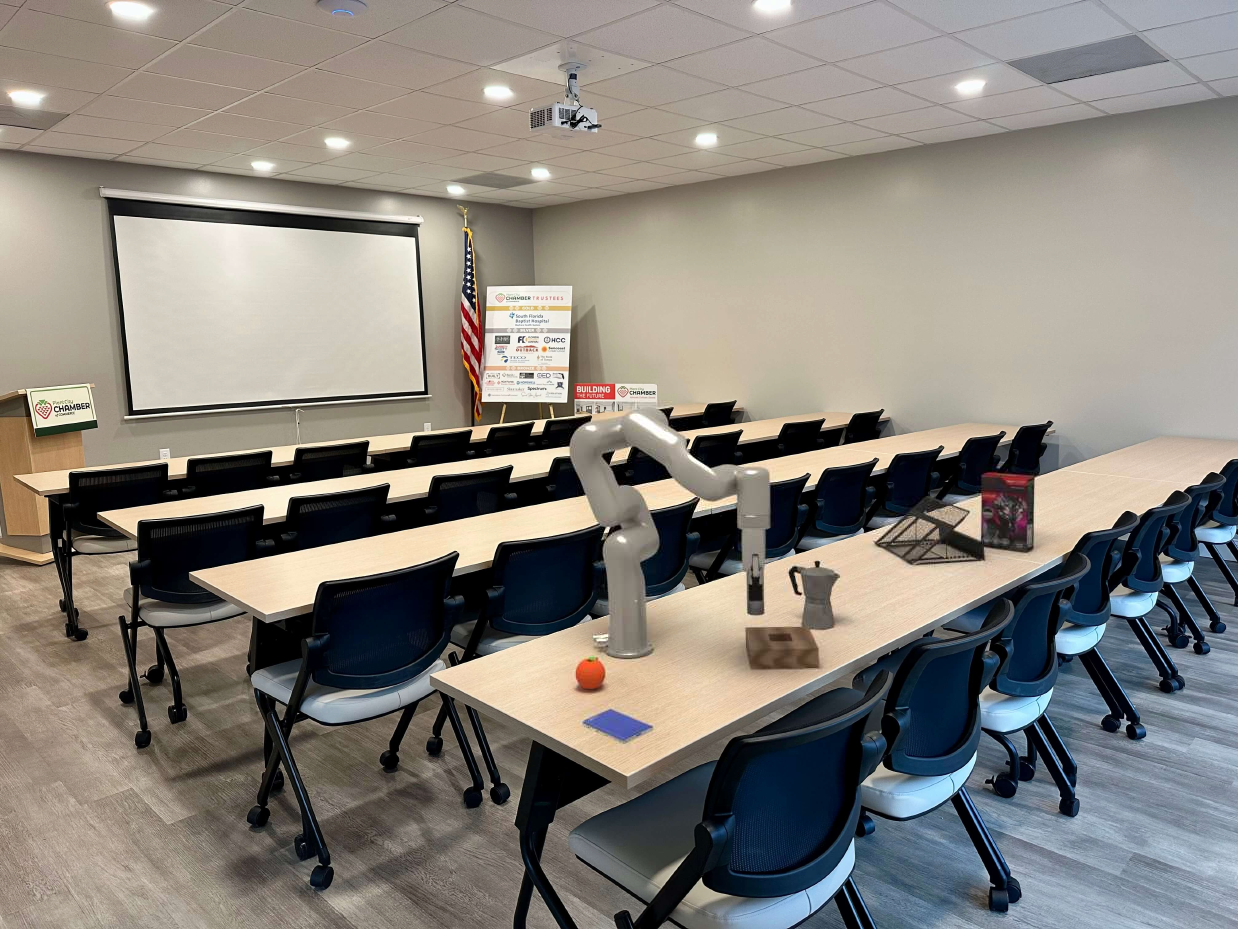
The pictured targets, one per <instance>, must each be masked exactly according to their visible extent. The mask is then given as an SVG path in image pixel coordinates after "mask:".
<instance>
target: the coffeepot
mask: <svg viewBox="0 0 1238 929" xmlns="http://www.w3.org/2000/svg"><path fill="white" fill-rule="evenodd" d="M813 563H814V566H812V567H805V566H797V565H793V566H792V567H791V568H789V570H788V576H789V579H790V583H791V586H792V588H793V593H794V595H796V596H802V595H804V596H805V597H804V598H805V600H804V606H803V611H802V617H801V623H800V624H801V627H809V629H810V630H814V629H815V630H816V631H817V630H818V631H822V630H830V629H832V628H833V627H835V618H834V612H833V605H832V603H831V596H832V592H833V587H834V585H835V584H836V582H837V581H838V580H839V579H841V575H840V574H839V573H836V572H835V570H834V569H830V568H827V567H822V566H821V567H820V564H821V561H820V560H814V562H813ZM795 574H799V575H800V577H801V579H800V580H801V583H802V589H803V592H800V591H799V588H798V587H799V585H798V582H797V578H796V575H795ZM815 630H814V631H815Z"/></svg>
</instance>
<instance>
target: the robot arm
mask: <svg viewBox="0 0 1238 929" xmlns="http://www.w3.org/2000/svg"><path fill="white" fill-rule="evenodd" d="M631 447H636V448H637V449H639V450H641V451H643V452H644V453H645V454H647V455H649V456H650V457H652V458H653V459H654V460H656V461H657V462H659V464H662V465H663V466H665V468H666V470H667V471H668V473H669V474H670V476H671V477H672V478H673V480H674V481H675V482H676V483H677V484H678V485H680V486H681V487H682V488H684V489H685V490H686V491H688V492H690V493H691V494H693V495H695V496H696V497H697V498H699V499H702V500H704V501H705V502H712V503H713V502H718V501H722V500H723V499H726V498H729V497H732V496H736V509H737V513H736V514H737V515H736V516H737V519H736V520H737V521H736V522H737V528H738V529H739V530H741V557H742V558H741V560H742V561H741V562H742V563H741V564H742V565H741V566H742V571H743V572H744V573H746V571H749V581H750V584H748V587H749V601H762V600H763V584H762V577H761V573H762V572H763V571H764V572H765V567H766V566H765V565H766V530H768V529H770V528H771V482H770V481H771V479H770V478H771V477H770V471H769V470H768V468H766V467H761V466H748V467H745V466H740V465H735V464H721V465H718V466H714V467H711V468H710V467H709V466H707V465H705V464H704V463H702V462H701V461H700V460H698V459H696V458H695V457H693V455H692V454H691V453H689V451H688V449H687V438H686V436H685V435H683V434H682V433H680V432H678V431H676V430H675V429H674V428H671V427H670V426H669V420H668V418H667V416H666V415H665V413H664V412H663V411H662V410H660V409H659V408H655V407H645V408H637V409H632V410H630V411H628V412H626V413H625V414H624V415H620V416H617V417H616V416H615V417H610V418H605V419H598V420H593V421H587V422H585V423H584V424H582V425H581V426H579V427H578V428H577V429H576V430H575V431H574V433H573V435H572V436H571V439H570V443H569V450H568V451H569V457H570V461H571V463H572V465H573V468H574V470H575V472H576V474H577V476H578V478H579V480H580V482H581V485H582V488H583V491H584V494H585V496H586V499H587V500H588V503H589V506H590V509H591V511H592V514H593V516H594V518H595V521H596V522H597V524H599V525H600V526H601V527H604V528H612V527H613V528H614V527H616V526H619V525H620V527H621V529H619V530H616V531H614V532H612V533H611V534H610V535H609V536H608V537H606V539H605V541H604V543H603V547H602V556H603V561H604V566H605V570H606V579H607V592H608V593H607V594H608V595H607V596H608V616H609V632H605V634H600V633H599V634H598V633H593V635H592V636H593V637H592V638H593V639H592V641H593V643H595V642H596V644H597V645H604V652H605V653H606V655H608V654H609V655H608V656H610V657H614V658H619V659H634V658H642V657H644V656H647V655H649V654H650V653H652V652H653V651H654V644H653V642H652V641H650V640H648V628H647V627H648V626H647V602H646V600H647V599H646V598H647V596H646V581H645V576H644V573H643V569H642V567H641V562H643V561H646V560H648V559H650V558H651V557H653V556H654V555H655V554H657V552H658V550H659V547H660V537H659V536H660V535H659V533H658V529H657V528H656V525H655V522H654V520H653V517H652V514H651V512H650V509H649V508H648V507H649V506H648V504H647V502H646V499H645V498H644V496H643V494H642V493H641V492H640V491H639V490H638V489H637V488H635V487H634V486H631V485H628V484H627V485H625V484H623V485H619V484H618V482H617V480H616V477H615V474H614V471H613V470H612V468H611V466H610V465H609V464H608V463H607V462H606V460H605V459H604V458H603V454H606V453H609V452H610V453H611V452H615V451H621V450H624V449H627V448H631ZM761 566H762V567H761ZM751 568H753V571H751ZM758 568H760V571H759V570H758ZM761 570H762V572H761ZM752 574H753V575H752Z"/></svg>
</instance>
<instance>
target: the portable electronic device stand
mask: <svg viewBox="0 0 1238 929" xmlns="http://www.w3.org/2000/svg"><path fill="white" fill-rule="evenodd" d="M970 513H971V511H970V510H968V509H965V508H962V507H960V506H956V505H954V504H951V503H949V502H946V501H944V500H940V499H937V498H935V497H931V496H928V495H927V496H925V497H923V499H922V500H920V502H918V503H917V504H916V505H915V506H913V508H912V509H911V510H909V511H908V512H906V514H905V515H903V517H901V518H900V519H899V520H898V521H897V522H896V523H895V524H894V525H892V527H890V528H889V529H888V530H887V531H886V532H884V533H883V535H881V536H880V537H879V538H878V539H877V540H876V541H875V540H873V541H872V542H874V544H875V545H876V546H877V547H879V548H881V549H885V550H886V551H888V552H889V553H892V554H894V555H896V557H899V558H900V559H902V560H905V561H906V562H907V563H908V564H910V565H913V564H915V563H916V564H915V566H925V565H940V564H941V565H942V564H955V563H956V564H957V563H970V562H972V563H973V562H982V561H984V562H986V561H985V560H986V559H985V558H986V556H985V547H984V543H983V542H982V541H981V539H978V538H975V537H973V536H971V535H967V534H965V533H963V532H960V531H958V530H956V528H957V527H958V526H959V525H960V524H962V523H963V522H964V520H965V519H966V517H968V515H969V514H970ZM892 543H893V544H892ZM937 545H945V547H946V548H945V550H946V551H945V554H946V555H945V556H942V555H939V554H938V553H936V552H933V551H932V550H933V549H934V548H935V547H936V546H937ZM948 547H949V548H951V549H954V550H956V551H958V552H960V553H962V554H964V555H954V556H953V555H952V556H951V555H950V556H948ZM928 553H932V554H934V555H936V556H934V557H925V556H926V555H927V554H928ZM970 558H971V559H970ZM952 559H954V560H952ZM938 560H939V561H938ZM921 561H922V562H921ZM917 562H918V563H917Z"/></svg>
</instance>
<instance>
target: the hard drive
mask: <svg viewBox="0 0 1238 929" xmlns="http://www.w3.org/2000/svg"><path fill="white" fill-rule="evenodd" d="M583 725H586V726H588V727H590V728H592V729H595V730H596V731H599V732H601V733H604V734H606V735H607V736H610V737H612V738H614V739H615V740H614V739H613V740H614V741H616V740H618V741H617V742H619V743H621V742H622V743H621V744H624V745H625V744H627V743H630V742H631V740H632V741H633V740H635V738H636V739H638V738H640V737H642V736H644V735H646V734H648V733H651V732H652V730H653V731H654V726H653V725H650V724H648V723H646V722H643V721H641V720H639V719H636V718H634V717H632V716H629V715H626V714H624V713H622V712H619V711H617V710H615V709H611V708H608V709H607V710H604V711H602V712H600V713H598V714H595V715H592V716H590V717H588V718H587V719H584V720H583V721H582V726H583ZM590 728H589V729H590ZM592 729H591V730H592ZM596 731H595V732H596ZM601 733H600V734H601ZM607 736H606V737H607ZM639 736H640V737H639ZM610 737H609V738H610ZM637 737H638V738H637ZM612 738H611V739H612ZM629 741H630V742H629Z"/></svg>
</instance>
